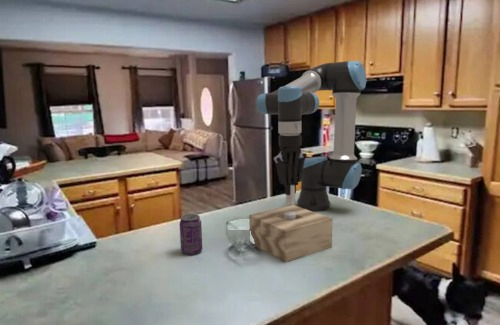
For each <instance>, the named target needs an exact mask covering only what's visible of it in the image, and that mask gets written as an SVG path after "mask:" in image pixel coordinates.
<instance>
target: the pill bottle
mask: <svg viewBox="0 0 500 325" xmlns="http://www.w3.org/2000/svg"><path fill="white" fill-rule="evenodd" d="M284 218H285V220H287V221H291V220H295V218H296V213H294V212H285V213H284Z"/></svg>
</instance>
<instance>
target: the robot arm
mask: <svg viewBox="0 0 500 325" xmlns="http://www.w3.org/2000/svg"><path fill="white" fill-rule="evenodd" d="M366 84H367V73H366V70H365V66H364V65H363V63H362V62H361V61H358V60H347V61H346V60H345V61H338V62H327V63H322V64H319V65H317V66H314V67H312V68H310V69H308V70H306V71H305V72H303V73H302V75H301V76H300V77H299V78H297V79H295V80H293V81H291V82H289V83H288V84H286V85H284V86H280V87H279V88H278V89H277V90H274V91H272V92H270V93H269V92H268V93H267V92H266V93H261V94H259V95H258V96H257V98H256V109H257V111H258V113H260V114H262V115H278V121H277V122H278V125H277V126H278V127H277V128H278V129H277V130H278V134H279V135H278V147H279V151H278V154H277V155H275V156H273V157H272V160H273V161H274V164H275V167H276V172H277V176H278V182H279V184H281V185H284V194H285V197H286V198H285V199H286V201H285V202H286V204H288V205H289V206H291V205H296V206H298V207H300V208H303V209H306V210H309V211H312V212H321V211H327V210H329V209H330V208H331V202H330V200H329V194H328V192H327V188H336V189H342V190H353V189H355V188H356V187H357V186H358V185H359V182H360V180H361V176H362V171H363V168H362V165H361V163H359V162H358V157H356V155H355V137H356V118H357V117H356V116H357V115H356V114H357V100H358V97H359V96H360V95H361V91H363V90H364V89H366ZM320 91H321V92H322V91H332V93H331V94H332V96H333V97H334V98H335V105H334V106H335V107H334V108H335V110H334V111H335V112H334V131H333V132H334V133H333V154H332V155H331V156H329V160H328V157H327V156H314V157H307V155H308V154H307V153H306V152H303V151H302V149H301V146H302V143H303V142H302V139H303V138H302V137H303V136H302V135H301V134H302V132H303V131H302V115H310V114H313V113H315V112H316V111H317V110H319V107H320V99H319V96H318V95H317V94H316V93H317V92H320ZM299 184H300V192H299V196H298V199H297V202H296V197H295V196H296V194H297V186H298V185H299Z"/></svg>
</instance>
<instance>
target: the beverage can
mask: <svg viewBox="0 0 500 325" xmlns="http://www.w3.org/2000/svg"><path fill="white" fill-rule="evenodd" d="M202 229H203V228H202V220H201V217H200V215H198V214H197V213H196V214H193V213H191V214H185V215H182V216H180V221H179V238H180V240H179V241H180V252H181V253H183V254H185V255H190V256H191V255H195V254H199V252H202V251H203V232H202V231H203V230H202Z"/></svg>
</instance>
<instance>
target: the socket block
mask: <svg viewBox="0 0 500 325" xmlns="http://www.w3.org/2000/svg"><path fill="white" fill-rule="evenodd" d="M285 212H294V213H296V218H295V220H291V221H287V220H285V218H284V213H285ZM333 219H334V218H332V217H330V216H327V215H323V214H320V213H317V212H316V211H309V210H306V209H303V208H300V207H298V206H297V205H296V204H293V205H287V206H282V207H278V208H274V209H269V210H265V211H261V212H257V213H252V214H249V219H248V220H249V222H248V223H249V232H250V231H251V235H252V237H253V239H254V242H255V245H254V246H256V247H258V248H259V249H260V250H261V249H262V250H263V251H264V252H267V253H269V255H272V256H274V257H276V258H277V259H279V260H281V261H282V262H285V263H288V262H291V261H294V260H297V259H300V258H304V257H306V256H310V255H312V254H315V253H317V252H321V251H324V250H327V249H330V248H333Z"/></svg>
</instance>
